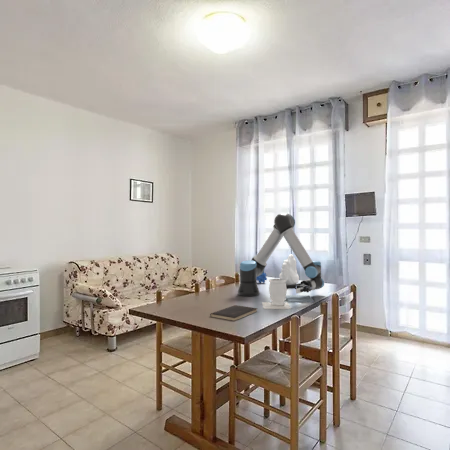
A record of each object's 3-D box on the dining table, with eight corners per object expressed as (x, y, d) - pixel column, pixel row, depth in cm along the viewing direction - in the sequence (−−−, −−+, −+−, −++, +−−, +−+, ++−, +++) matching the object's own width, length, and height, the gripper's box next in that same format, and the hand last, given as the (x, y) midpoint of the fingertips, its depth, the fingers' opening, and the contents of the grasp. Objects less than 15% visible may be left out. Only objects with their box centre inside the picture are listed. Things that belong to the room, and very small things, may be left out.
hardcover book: (257, 312, 189) (257, 308, 189) (234, 321, 171) (234, 317, 171) (234, 308, 199) (234, 304, 199) (210, 317, 180) (210, 313, 180)
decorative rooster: (287, 281, 290) (286, 253, 291) (303, 283, 280) (302, 253, 280) (270, 285, 272) (270, 255, 272) (287, 287, 261) (286, 256, 262)
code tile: (263, 308, 195) (263, 308, 195) (262, 302, 211) (262, 302, 211) (291, 308, 194) (291, 308, 194) (287, 302, 210) (287, 302, 210)
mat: (288, 302, 212) (288, 300, 212) (285, 296, 227) (285, 295, 227) (313, 302, 210) (313, 300, 210) (309, 296, 226) (309, 295, 226)
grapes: (252, 283, 285) (252, 269, 285) (254, 282, 291) (254, 268, 291) (265, 284, 280) (265, 269, 280) (267, 282, 286) (267, 268, 286)
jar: (273, 306, 199) (273, 281, 199) (266, 303, 209) (266, 279, 209) (289, 305, 201) (289, 280, 202) (282, 301, 211) (282, 278, 212)
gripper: (323, 293, 216) (304, 298, 202) (292, 288, 235) (272, 292, 221) (323, 282, 216) (304, 286, 202) (292, 278, 235) (272, 281, 221)
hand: (287, 289), depth 211 cm, fingers open, 13 cm apart
